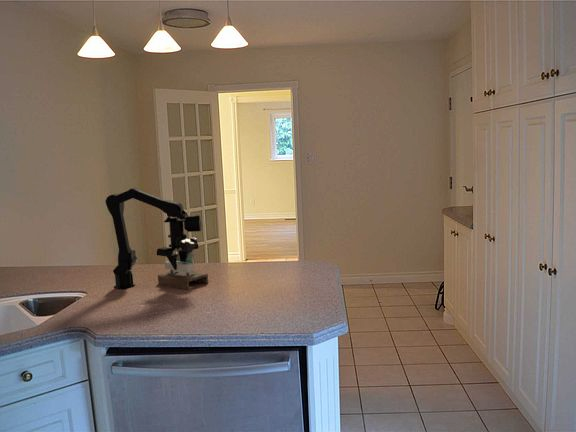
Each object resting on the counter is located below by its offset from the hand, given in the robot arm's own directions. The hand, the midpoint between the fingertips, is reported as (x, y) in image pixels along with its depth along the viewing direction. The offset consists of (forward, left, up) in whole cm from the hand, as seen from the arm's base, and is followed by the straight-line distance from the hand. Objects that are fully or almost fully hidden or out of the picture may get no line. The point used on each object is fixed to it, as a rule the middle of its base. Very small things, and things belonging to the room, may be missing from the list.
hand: (179, 268), depth 221 cm
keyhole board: (+2, 0, -7) cm, 7 cm away
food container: (+15, +12, -7) cm, 20 cm away
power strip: (0, 0, -4) cm, 4 cm away
